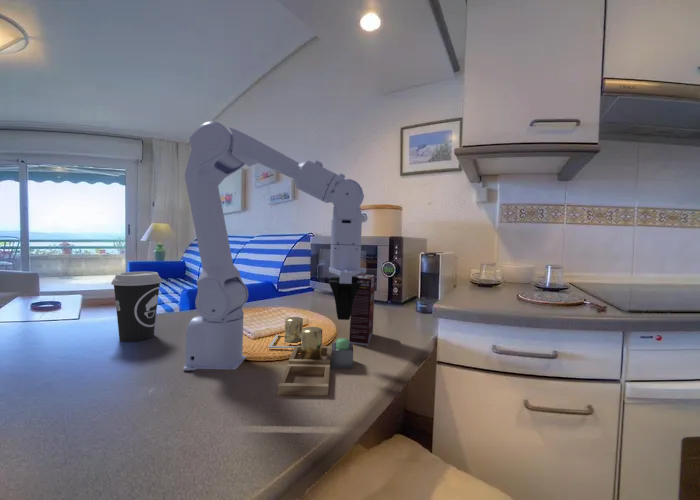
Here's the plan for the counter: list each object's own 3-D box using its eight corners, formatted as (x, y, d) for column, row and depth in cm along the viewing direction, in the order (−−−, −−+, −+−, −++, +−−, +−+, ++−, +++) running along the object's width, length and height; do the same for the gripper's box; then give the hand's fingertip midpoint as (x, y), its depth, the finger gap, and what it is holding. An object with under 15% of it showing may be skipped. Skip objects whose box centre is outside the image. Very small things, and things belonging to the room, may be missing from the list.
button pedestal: (331, 371, 53) (331, 350, 53) (331, 362, 57) (332, 342, 57) (352, 371, 53) (353, 350, 53) (351, 362, 57) (352, 343, 57)
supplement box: (369, 348, 66) (371, 278, 65) (348, 345, 67) (350, 277, 66) (373, 336, 74) (375, 274, 74) (355, 334, 75) (357, 273, 75)
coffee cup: (152, 328, 74) (152, 270, 74) (168, 336, 68) (169, 273, 68) (104, 337, 66) (105, 273, 66) (118, 347, 61) (119, 277, 60)
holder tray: (276, 399, 43) (276, 386, 43) (294, 354, 60) (294, 345, 60) (329, 400, 44) (329, 387, 44) (332, 355, 61) (332, 346, 61)
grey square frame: (268, 352, 61) (268, 346, 61) (277, 337, 70) (277, 332, 70) (311, 353, 61) (311, 347, 61) (315, 338, 71) (315, 333, 70)
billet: (282, 348, 64) (283, 321, 64) (286, 341, 68) (286, 316, 68) (301, 348, 64) (301, 321, 64) (303, 342, 68) (304, 317, 68)
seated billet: (299, 364, 54) (300, 332, 54) (302, 355, 58) (303, 326, 58) (320, 364, 55) (321, 333, 54) (322, 356, 59) (323, 327, 58)
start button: (335, 363, 54) (336, 342, 54) (335, 358, 56) (336, 338, 56) (348, 363, 54) (349, 342, 54) (348, 358, 56) (348, 338, 56)
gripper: (371, 246, 47) (368, 327, 48) (363, 245, 62) (361, 307, 62) (328, 244, 47) (325, 326, 48) (330, 243, 62) (328, 306, 62)
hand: (343, 315), depth 55 cm, fingers open, 4 cm apart
